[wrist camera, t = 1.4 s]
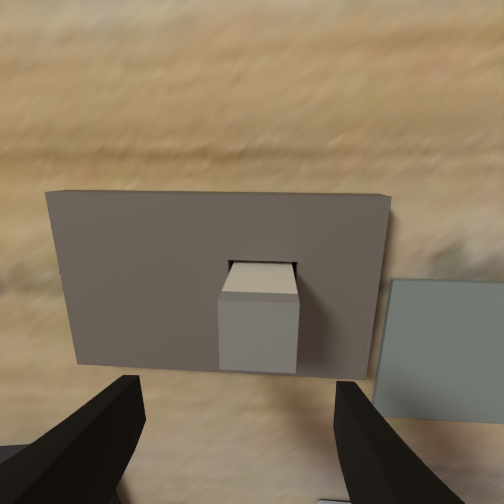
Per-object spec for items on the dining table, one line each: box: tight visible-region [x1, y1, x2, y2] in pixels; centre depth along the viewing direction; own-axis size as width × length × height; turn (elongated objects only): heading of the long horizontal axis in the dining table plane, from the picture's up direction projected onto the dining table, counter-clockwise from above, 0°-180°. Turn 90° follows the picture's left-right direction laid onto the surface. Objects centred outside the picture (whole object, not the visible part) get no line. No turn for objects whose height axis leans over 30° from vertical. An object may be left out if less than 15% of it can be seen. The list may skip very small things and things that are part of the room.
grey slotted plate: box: [45, 190, 391, 380], centre depth 19 cm, size 20×12×2 cm, turn 90°
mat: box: [372, 278, 504, 424], centre depth 20 cm, size 11×11×1 cm
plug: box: [218, 260, 300, 373], centre depth 16 cm, size 4×4×7 cm
